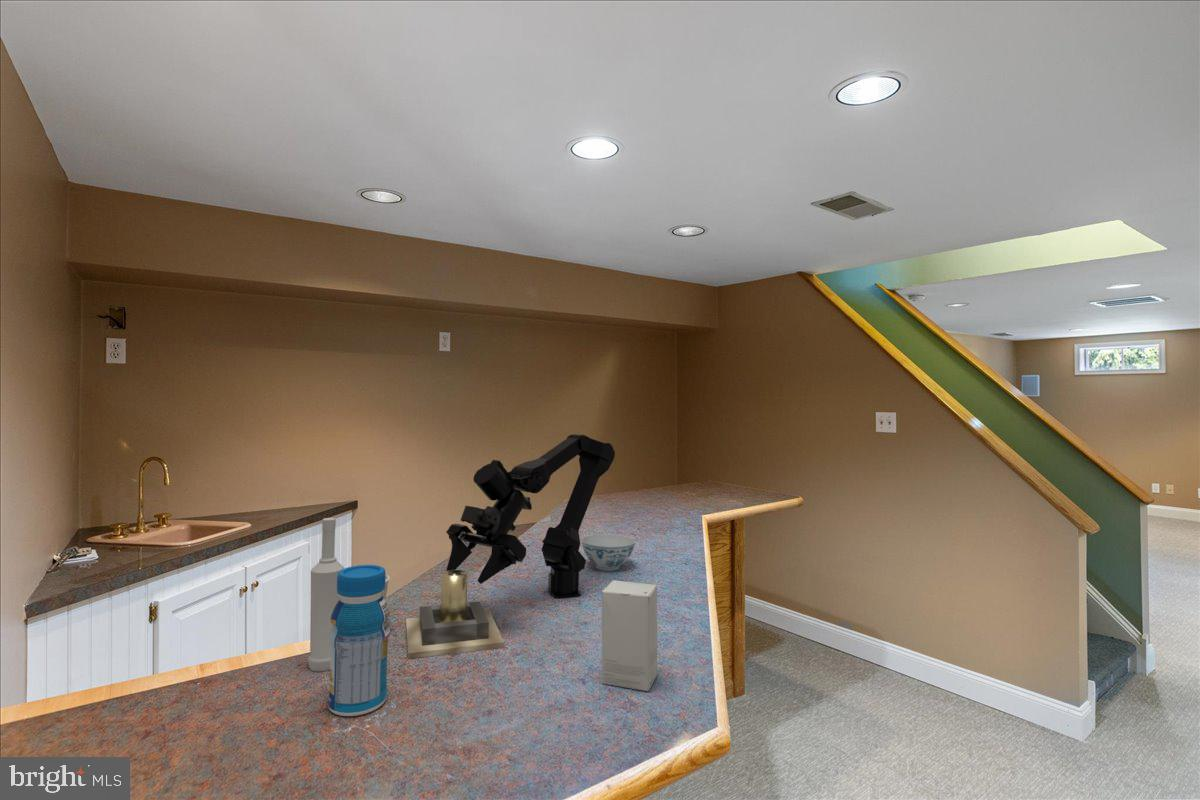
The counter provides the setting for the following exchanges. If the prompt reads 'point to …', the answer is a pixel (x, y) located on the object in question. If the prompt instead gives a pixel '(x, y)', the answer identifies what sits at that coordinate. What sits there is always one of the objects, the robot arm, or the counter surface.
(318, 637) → the bottle
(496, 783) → the counter surface
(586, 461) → the robot arm
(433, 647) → the jig plate
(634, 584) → the skincare box
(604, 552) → the chinaware
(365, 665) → the beverage bottle
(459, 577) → the cylinder
